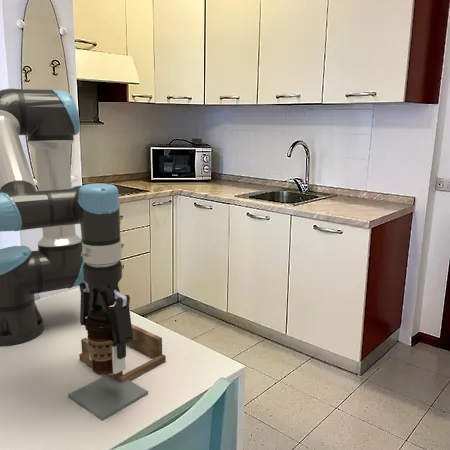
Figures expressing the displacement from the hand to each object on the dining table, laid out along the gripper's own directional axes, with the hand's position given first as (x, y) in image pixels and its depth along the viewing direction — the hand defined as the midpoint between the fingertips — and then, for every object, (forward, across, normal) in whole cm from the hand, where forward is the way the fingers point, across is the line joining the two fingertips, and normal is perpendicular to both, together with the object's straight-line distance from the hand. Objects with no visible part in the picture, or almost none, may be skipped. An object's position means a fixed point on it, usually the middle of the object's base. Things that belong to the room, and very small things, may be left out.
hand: (107, 364), depth 99 cm
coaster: (+8, 0, 0) cm, 8 cm away
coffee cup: (+1, 0, 0) cm, 1 cm away
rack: (+8, -9, +11) cm, 16 cm away
